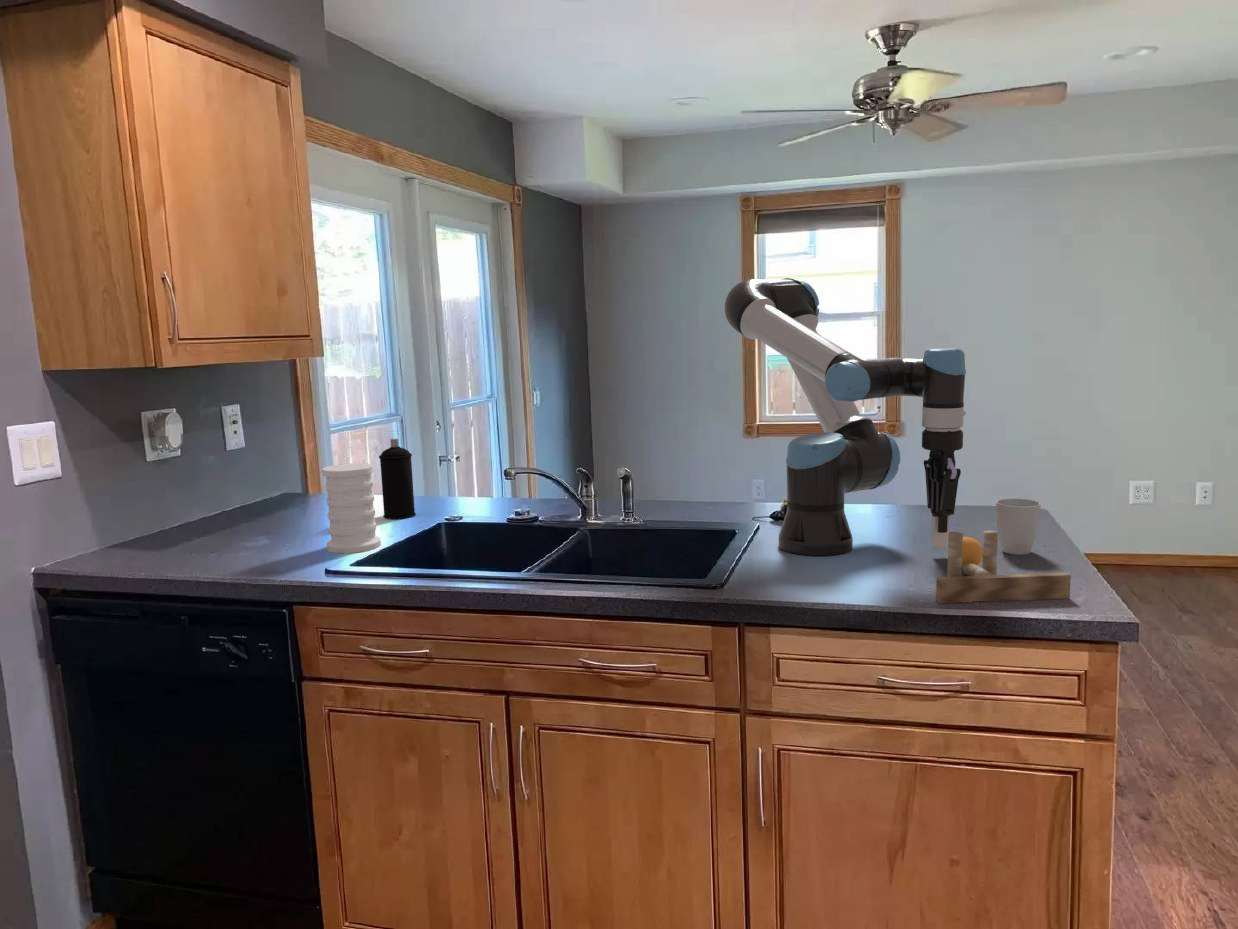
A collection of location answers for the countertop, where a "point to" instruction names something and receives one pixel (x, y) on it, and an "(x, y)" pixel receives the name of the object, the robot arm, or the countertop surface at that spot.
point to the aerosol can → (397, 482)
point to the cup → (1017, 524)
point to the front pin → (975, 570)
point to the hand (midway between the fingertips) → (939, 547)
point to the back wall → (1003, 587)
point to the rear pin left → (990, 551)
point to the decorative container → (350, 508)
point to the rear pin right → (954, 554)
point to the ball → (971, 551)
